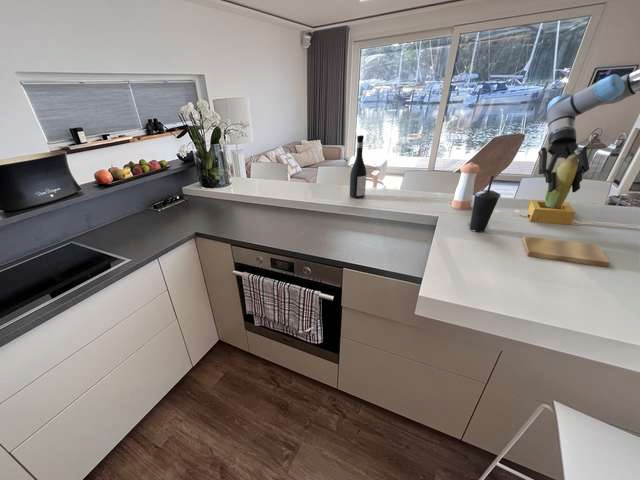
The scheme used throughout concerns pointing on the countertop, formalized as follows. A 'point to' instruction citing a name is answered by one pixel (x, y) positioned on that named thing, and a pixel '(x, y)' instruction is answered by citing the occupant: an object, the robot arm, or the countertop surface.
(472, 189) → the pepper shaker
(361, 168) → the wine bottle
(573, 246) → the board
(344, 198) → the countertop surface
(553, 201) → the vegetable
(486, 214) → the drinking cup
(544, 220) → the stand
